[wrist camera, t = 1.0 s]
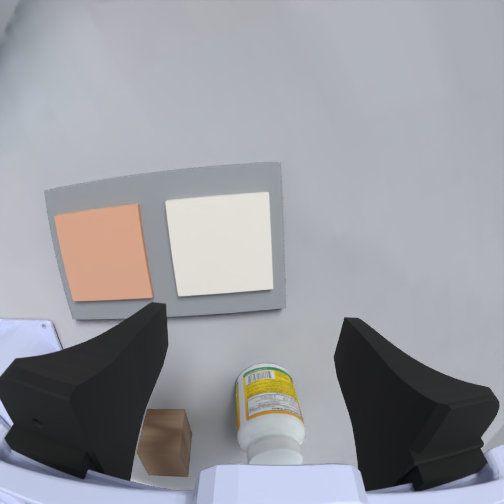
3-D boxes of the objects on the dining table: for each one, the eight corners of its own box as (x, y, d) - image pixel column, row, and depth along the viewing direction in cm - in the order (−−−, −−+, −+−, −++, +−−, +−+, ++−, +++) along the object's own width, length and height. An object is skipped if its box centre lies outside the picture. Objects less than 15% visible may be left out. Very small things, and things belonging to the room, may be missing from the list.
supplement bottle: (257, 352, 27) (269, 435, 18) (303, 375, 28) (328, 453, 19) (223, 389, 28) (224, 471, 19) (269, 409, 29) (281, 486, 20)
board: (77, 314, 25) (70, 322, 23) (50, 189, 21) (40, 192, 20) (283, 302, 26) (287, 311, 24) (278, 161, 22) (282, 162, 21)
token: (156, 432, 30) (148, 474, 24) (147, 409, 29) (136, 452, 23) (191, 433, 30) (188, 476, 24) (184, 409, 29) (179, 454, 23)
